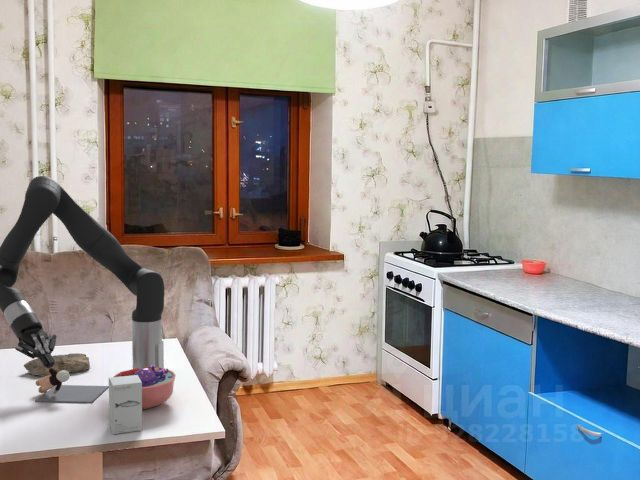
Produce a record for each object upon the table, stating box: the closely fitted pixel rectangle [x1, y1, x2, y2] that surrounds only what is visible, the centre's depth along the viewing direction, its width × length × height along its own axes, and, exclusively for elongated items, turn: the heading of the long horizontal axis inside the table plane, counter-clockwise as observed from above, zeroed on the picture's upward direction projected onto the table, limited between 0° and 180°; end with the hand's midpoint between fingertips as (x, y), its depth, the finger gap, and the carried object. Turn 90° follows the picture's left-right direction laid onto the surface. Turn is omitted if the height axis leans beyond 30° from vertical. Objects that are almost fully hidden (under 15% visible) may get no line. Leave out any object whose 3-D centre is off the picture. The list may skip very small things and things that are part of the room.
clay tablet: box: [23, 352, 91, 377], centre depth 218 cm, size 14×5×20 cm
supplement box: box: [108, 375, 143, 435], centre depth 169 cm, size 7×7×13 cm
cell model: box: [113, 365, 176, 410], centre depth 186 cm, size 17×20×11 cm
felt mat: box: [35, 384, 109, 404], centre depth 195 cm, size 16×14×1 cm
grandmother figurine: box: [35, 368, 71, 394], centre depth 192 cm, size 8×4×13 cm
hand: (50, 365), depth 191 cm, fingers closed
